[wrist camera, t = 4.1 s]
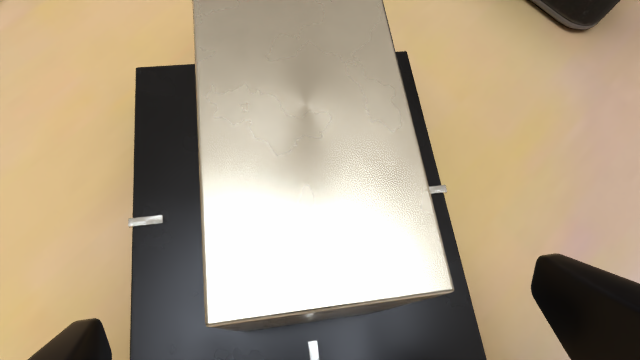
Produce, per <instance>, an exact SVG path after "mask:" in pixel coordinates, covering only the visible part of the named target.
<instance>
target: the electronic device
mask: <svg viewBox="0 0 640 360" xmlns="http://www.w3.org/2000/svg"><path fill="white" fill-rule="evenodd" d="M531 1H532V2H533V3H535V4H536V5H537V6H539V7H540V8H541V9H543V10H544V11H545V12H547V13H548V14H549V15H551V16H552V17H553V18H555V19H556V20H557V21H559V22H560V23H562V24H563V25H565V26H567V27H569V28H573V29H589V28H591V27H593V26H594V25H596V24H597V23H598V22H599V21H600V20H601V19H602V18H603V17H604V16H605V15H606V14H607V13H608V12H609V11H610V10H611V9H612V8H613V7H614V6H615V5H616V4H617V3H618V2H619V1H620V0H531Z"/></svg>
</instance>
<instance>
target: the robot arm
mask: <svg viewBox="0 0 640 360" xmlns="http://www.w3.org/2000/svg"><path fill="white" fill-rule="evenodd" d="M531 291H532V295H533V297H534V299H535V301H536V303H537V304H538V306H539V308H540V309H541V311H542V313H543V314H544V316H545V318H546V319H547V321H548V323H549V324H550V326H551V328H552V329H553V331H554V333H555V334H556V336H557V338H558V339H559V341H560V343H561V344H562V346H563V348H564V349H565V351H566V352H567V354H568V356H569V357H570V359H571V360H640V284H639V283H636V282H634V281H631V280H628V279H626V278H623V277H620V276H618V275H615V274H612V273H610V272H607V271H604V270H602V269H599V268H596V267H593V266H591V265H588V264H585V263H583V262H580V261H577V260H575V259H572V258H569V257H567V256H564V255H561V254H549V255H542V256H540V257H539V258H538V259H537V261H536V265H535V270H534V274H533V279H532V283H531ZM28 360H112V353H111V348H110V345H109V342H108V339H107V337H106V334H105V331H104V328H103V325H102V323H101V321H100V320H99V319H96V318H93V319H86V320H79V321H75V322H73V323H72V324H70V325H69V326H68V327H67V328H66V329H64V330H63V331H62V332H61V333H59V334H58V335H57V336H56V337H55V338H53V339H52V340H51V341H50V342H49V343H47V344H46V345H45V346H44V347H42V348H41V349H40V350H39V351H38V352H36V353H35V354H34V355H33V356H32V357H30V358H29V359H28Z"/></svg>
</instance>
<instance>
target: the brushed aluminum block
mask: <svg viewBox="0 0 640 360" xmlns="http://www.w3.org/2000/svg"><path fill="white" fill-rule="evenodd" d="M193 24H194V49H195V75H196V100H197V125H198V150H199V175H200V201H201V226H202V251H203V276H204V301H205V324H206V326H207V327H211V328H219V329H226V330H234V331H241V332H248V331H255V330H262V329H268V328H275V327H282V326H289V325H296V324H303V323H309V322H316V321H323V320H330V319H337V318H344V317H350V316H357V315H364V314H371V313H376V312H379V311H383V310H387V309H391V308H395V307H399V306H402V305H406V304H410V303H414V302H418V301H421V300H425V299H429V298H433V297H437V296H441V295H444V294H448V293H452V292H453V291H454V287H453V283H452V279H451V275H450V271H449V267H448V263H447V259H446V255H445V250H444V246H443V242H442V238H441V234H440V230H439V226H438V222H437V218H436V214H435V210H434V206H433V202H432V198H431V194H430V190H429V186H428V182H427V178H426V174H425V170H424V166H423V162H422V158H421V153H420V149H419V145H418V141H417V137H416V133H415V129H414V125H413V121H412V117H411V113H410V109H409V105H408V101H407V97H406V93H405V89H404V85H403V81H402V77H401V73H400V69H399V65H398V61H397V57H396V52H395V48H394V44H393V40H392V36H391V32H390V28H389V24H388V20H387V16H386V12H385V8H384V4H383V0H193Z"/></svg>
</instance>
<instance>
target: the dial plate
mask: <svg viewBox="0 0 640 360" xmlns="http://www.w3.org/2000/svg"><path fill="white" fill-rule="evenodd" d="M396 57H397V61H398V65H399V69H400V73H401V77H402V81H403V85H404V89H405V93H406V97H407V101H408V105H409V109H410V113H411V117H412V121H413V125H414V129H415V133H416V137H417V141H418V145H419V149H420V153H421V158H422V162H423V166H424V170H425V174H426V178H427V182H428V186H429V190H430V194H431V198H432V202H433V206H434V210H435V214H436V218H437V222H438V226H439V230H440V234H441V238H442V242H443V246H444V250H445V255H446V259H447V263H448V267H449V271H450V275H451V279H452V283H453V287H454V291H453V292H452V293H448V294H444V295H441V296H437V297H433V298H429V299H425V300H421V301H418V302H414V303H410V304H406V305H402V306H399V307H395V308H391V309H387V310H383V311H379V312H376V313H371V314H364V315H357V316H350V317H344V318H337V319H330V320H323V321H316V322H309V323H303V324H296V325H289V326H282V327H275V328H268V329H262V330H255V331H248V332H241V331H234V330H226V329H219V328H211V327H207V326H206V324H205V301H204V276H203V251H202V226H201V201H200V175H199V150H198V125H197V100H196V75H195V64H188V65H172V66H155V67H139V68H136V89H135V137H134V185H133V218H129V223H128V226H129V227H133V234H132V282H131V330H130V360H486V356H485V352H484V348H483V344H482V340H481V336H480V333H479V329H478V325H477V321H476V317H475V313H474V309H473V306H472V302H471V298H470V294H469V290H468V286H467V282H466V279H465V275H464V271H463V267H462V263H461V259H460V255H459V252H458V248H457V244H456V240H455V236H454V232H453V228H452V225H451V221H450V217H449V213H448V209H447V205H446V201H445V198H444V194H443V193H446V192H447V189H446V186H445V185H441V182H440V178H439V174H438V171H437V167H436V163H435V159H434V155H433V151H432V147H431V144H430V140H429V136H428V132H427V128H426V124H425V120H424V117H423V113H422V109H421V105H420V101H419V97H418V93H417V90H416V86H415V82H414V78H413V74H412V70H411V66H410V63H409V59H408V55H407V52H406V51H404V52H396Z"/></svg>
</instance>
